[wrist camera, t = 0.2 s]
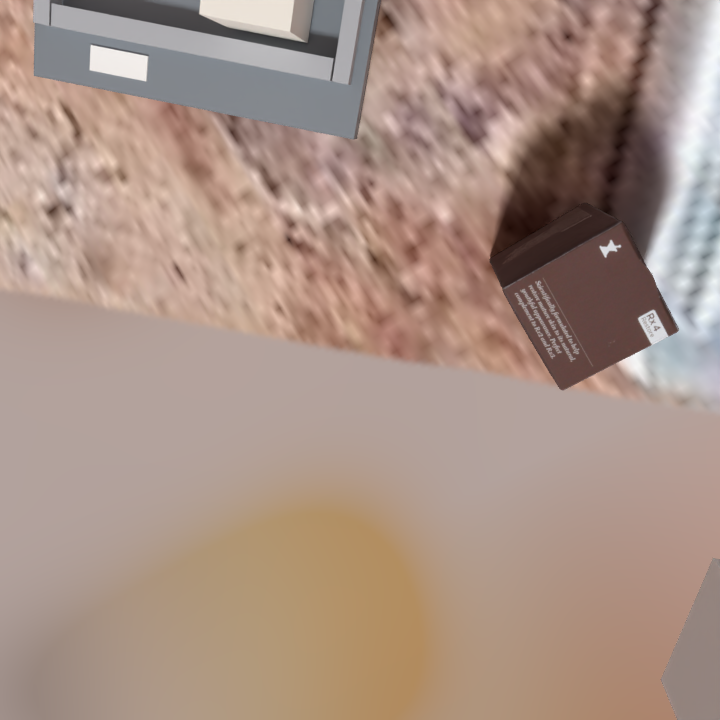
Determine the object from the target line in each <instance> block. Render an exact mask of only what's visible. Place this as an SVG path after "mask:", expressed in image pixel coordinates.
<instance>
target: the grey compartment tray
mask: <svg viewBox="0 0 720 720" xmlns="http://www.w3.org/2000/svg"><path fill="white" fill-rule="evenodd" d="M380 3H381V0H314V4H313V11H312V18H311V24H310V31H309V38H308V43H304V42H299V41H294V40H289V39H283V38H278V37H273V36H268V35H263V34H258V33H253V32H248V31H242V30H237V29H232V28H228V27H226V26H224V25H221V24H219V23H217V22H215V21H213V20H211V19H208V18H206V17H204V16H202V15H200V14H199V11H200V0H34V12H33V22H34V23H35V42H34V76H38V77H43V78H48V79H53V80H58V81H63V82H68V83H73V84H78V85H83V86H88V87H93V88H98V89H103V90H108V91H113V92H118V93H123V94H128V95H133V96H138V97H143V98H148V99H154V100H159V101H164V102H169V103H174V104H179V105H184V106H189V107H194V108H199V109H204V110H209V111H214V112H219V113H224V114H229V115H234V116H239V117H244V118H249V119H254V120H259V121H264V122H269V123H274V124H279V125H284V126H289V127H294V128H299V129H304V130H309V131H314V132H319V133H324V134H329V135H334V136H339V137H344V138H349V139H357V134H358V128H359V123H360V117H361V111H362V106H363V100H364V94H365V88H366V83H367V77H368V71H369V65H370V60H371V54H372V48H373V43H374V37H375V31H376V25H377V20H378V14H379V8H380Z"/></svg>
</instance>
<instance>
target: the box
mask: <svg viewBox="0 0 720 720" xmlns="http://www.w3.org/2000/svg"><path fill="white" fill-rule="evenodd" d="M490 263H491V265H492V267H493V269H494V272H495V274H496V276H497V278H498V280H499V282H500V284H501V287H502V289H503V293H504V295H505V296H506V298H507V300H508V302H509V304H510V305H511V307H512V309H513V311H514V313H515V314H516V316H517V318H518V320H519V321H520V323H521V325H522V327H523V328H524V330H525V332H526V334H527V335H528V337H529V339H530V340H531V342H532V344H533V346H534V347H535V349H536V351H537V352H538V354H539V356H540V357H541V359H542V361H543V362H544V364H545V366H546V367H547V369H548V371H549V373H550V374H551V376H552V377H553V379H554V380H555V382H556V384H557V385H558V387H559V388H560V389H561V390H565V389H567V388H569V387H571V386H573V385H575V384H577V383H579V382H581V381H583V380H584V379H586V378H588V377H590V376H592V375H594V374H596V373H598V372H600V371H602V370H604V369H606V368H608V367H610V366H612V365H614V364H616V363H617V362H619V361H621V360H623V359H625V358H627V357H629V356H631V355H633V354H635V353H637V352H639V351H641V350H643V349H645V348H647V347H649V346H651V345H653V344H655V343H657V342H659V341H661V340H663V339H665V338H667V337H669V336H671V335H673V334H674V333H677V332H678V331H679V328H678V326H677V324H676V323H675V320H674V318H673V317H672V314H671V312H670V310H669V309H668V307H667V305H666V303H665V301H664V299H663V297H662V295H661V293H660V291H659V290H658V288H657V286H656V283H655V280H654V278H653V275H652V274H651V272H650V271H649V269H648V268H647V266H646V264H645V263H644V261H643V259H642V257H641V255H640V253H639V251H638V249H637V247H636V245H635V243H634V241H633V239H632V237H631V235H630V233H629V231H628V229H627V227H626V225H625V224H624V223H623V222H622V221H619V220H618V219H616V218H614V217H612V216H610V215H609V214H607V213H605V212H603V211H601V210H599V209H597V208H595V207H593V206H591V205H590V204H588V203H583V204H581V205H580V206H578V207H576V208H575V209H573V210H571V211H569V212H568V213H566V214H564V215H563V216H561V217H559V218H557V219H556V220H554V221H552V222H551V223H549V224H547V225H546V226H544V227H542V228H541V229H539V230H537V231H536V232H534V233H532V234H530V235H529V236H527V237H525V238H524V239H522V240H520V241H519V242H517V243H515V244H513V245H512V246H510V247H509V248H507V249H505V250H503V251H502V252H500V253H498V254H497V255H495V256H493V257H492V258H490Z"/></svg>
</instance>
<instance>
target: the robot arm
mask: <svg viewBox="0 0 720 720" xmlns="http://www.w3.org/2000/svg"><path fill="white" fill-rule="evenodd" d="M661 681H662V684H663V686H664V688H665V691H666V693H667V696H668V698H669V701H670V703H671V706H672V708H673V710H674V713H675V715H676V718H677V720H720V559H715V558H713V560H712V562H711V564H710V566H709V569H708V571H707V573H706V576H705V578H704V580H703V583H702V585H701V587H700V590H699V592H698V594H697V597H696V599H695V601H694V604H693V606H692V608H691V611H690V613H689V615H688V618H687V620H686V622H685V625H684V627H683V629H682V632H681V634H680V636H679V639H678V641H677V643H676V646H675V648H674V650H673V653H672V655H671V657H670V660H669V662H668V664H667V666H666V669H665V671H664V673H663V676H662V678H661Z"/></svg>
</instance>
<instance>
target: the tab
mask: <svg viewBox="0 0 720 720" xmlns="http://www.w3.org/2000/svg"><path fill="white" fill-rule="evenodd" d="M313 4H314V0H200V11H199V14H200V15H202V16H204V17H206V18H208V19H211V20H213V21H215V22H217V23H219V24H221V25H224V26H226V27H228V28H232V29H237V30H242V31H248V32H253V33H258V34H263V35H268V36H273V37H278V38H283V39H289V40H294V41H299V42H304V43H308V38H309V31H310V24H311V18H312V11H313Z"/></svg>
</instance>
